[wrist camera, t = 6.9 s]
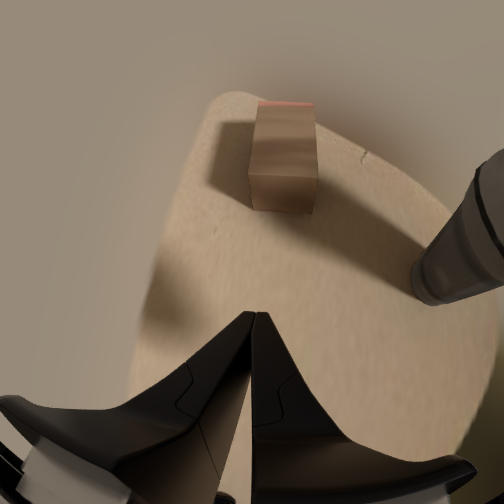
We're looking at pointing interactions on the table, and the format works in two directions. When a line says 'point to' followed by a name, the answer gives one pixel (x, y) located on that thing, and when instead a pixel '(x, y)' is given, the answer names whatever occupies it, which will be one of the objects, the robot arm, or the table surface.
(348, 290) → the table surface
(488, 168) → the beverage cup
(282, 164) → the wooden block
